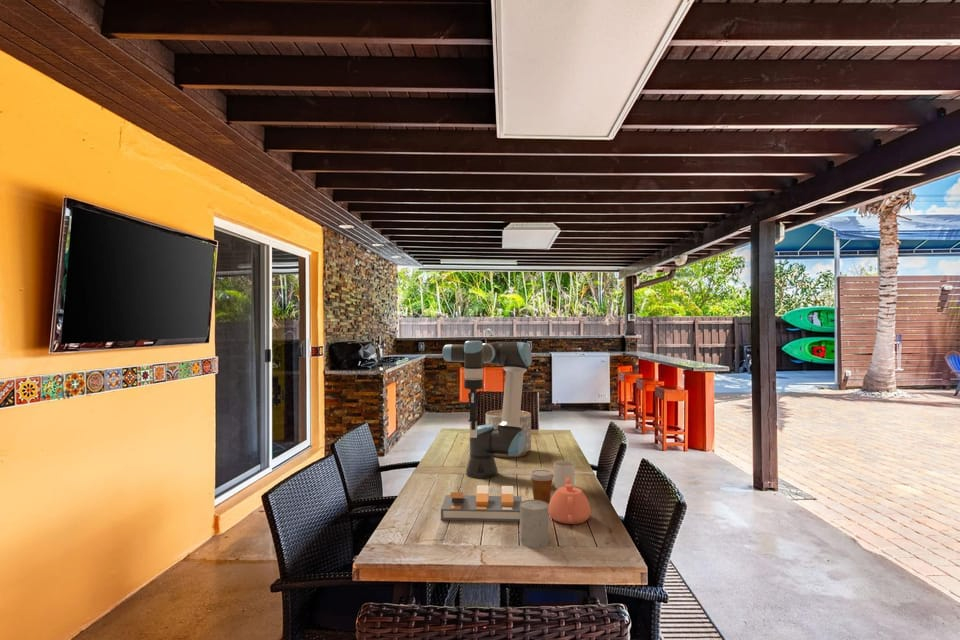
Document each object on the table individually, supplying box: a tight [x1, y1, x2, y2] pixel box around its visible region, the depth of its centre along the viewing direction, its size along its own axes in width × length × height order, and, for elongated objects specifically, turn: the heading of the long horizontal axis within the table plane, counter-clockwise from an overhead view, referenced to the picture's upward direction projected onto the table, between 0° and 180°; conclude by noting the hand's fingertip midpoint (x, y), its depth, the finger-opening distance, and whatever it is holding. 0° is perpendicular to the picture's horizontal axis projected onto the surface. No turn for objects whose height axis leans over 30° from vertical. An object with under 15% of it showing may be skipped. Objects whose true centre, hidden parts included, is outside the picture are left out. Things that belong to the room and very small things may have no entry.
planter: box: [485, 409, 532, 458], centre depth 294 cm, size 26×26×22 cm
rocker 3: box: [500, 485, 514, 507], centre depth 199 cm, size 10×4×2 cm, turn 177°
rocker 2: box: [475, 484, 490, 506], centre depth 200 cm, size 10×4×2 cm, turn 177°
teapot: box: [548, 477, 592, 525], centre depth 195 cm, size 22×16×12 cm
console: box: [440, 494, 523, 523], centre depth 200 cm, size 16×30×5 cm, turn 87°
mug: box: [553, 460, 576, 490], centre depth 231 cm, size 12×9×11 cm
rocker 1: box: [450, 491, 465, 498], centre depth 200 cm, size 10×4×2 cm, turn 177°
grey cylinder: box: [519, 499, 550, 549], centre depth 174 cm, size 10×10×12 cm
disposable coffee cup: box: [529, 469, 554, 505], centre depth 212 cm, size 10×10×12 cm
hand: (473, 437), depth 212 cm, fingers closed
